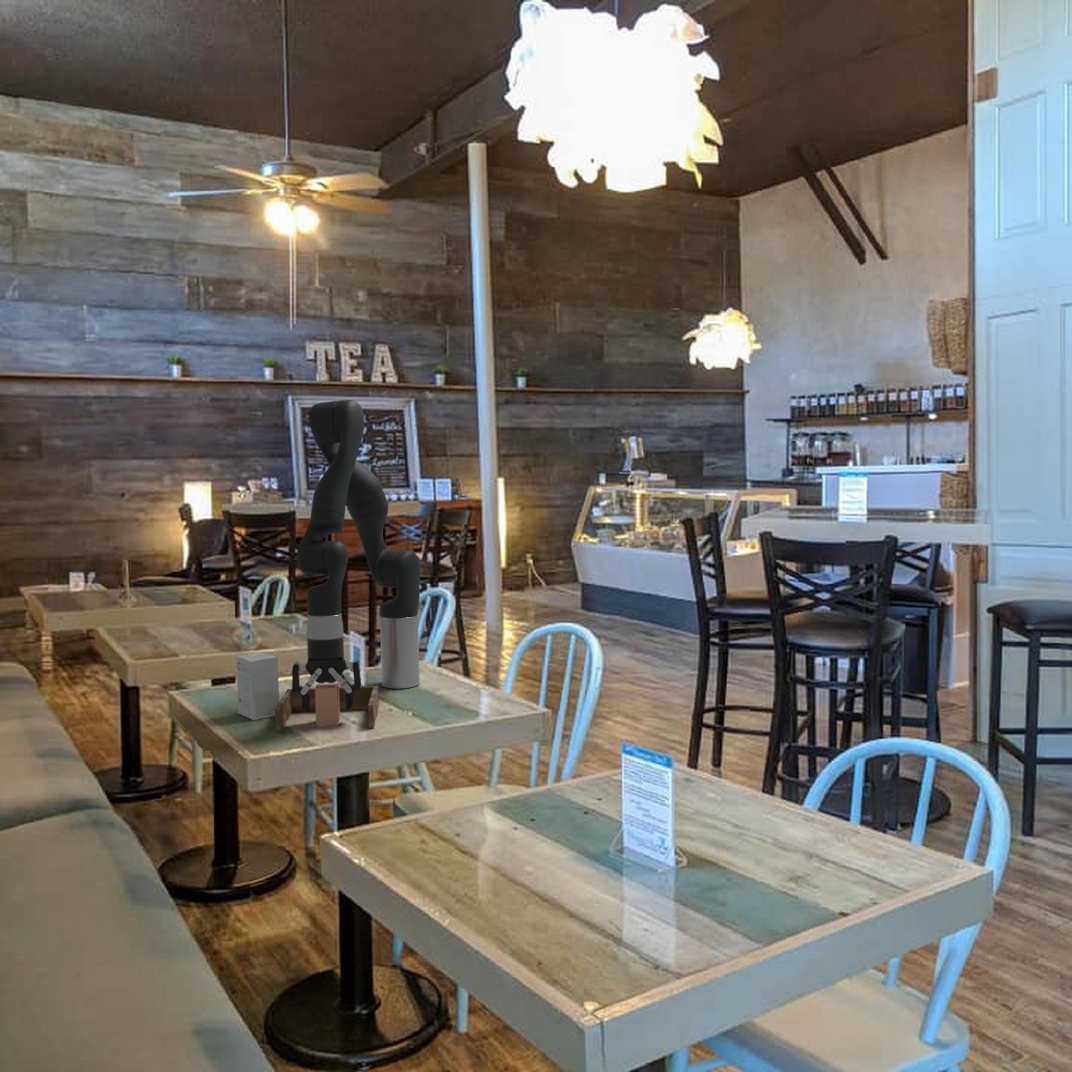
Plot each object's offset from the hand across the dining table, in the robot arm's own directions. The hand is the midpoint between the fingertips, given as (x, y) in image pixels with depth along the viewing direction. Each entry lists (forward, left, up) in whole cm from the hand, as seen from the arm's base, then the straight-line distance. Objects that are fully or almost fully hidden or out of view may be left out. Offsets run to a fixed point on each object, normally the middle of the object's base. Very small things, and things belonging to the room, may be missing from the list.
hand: (327, 710), depth 220 cm
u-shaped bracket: (-2, 0, -3) cm, 3 cm away
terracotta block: (0, 0, -3) cm, 3 cm away
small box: (-9, -16, -3) cm, 19 cm away
